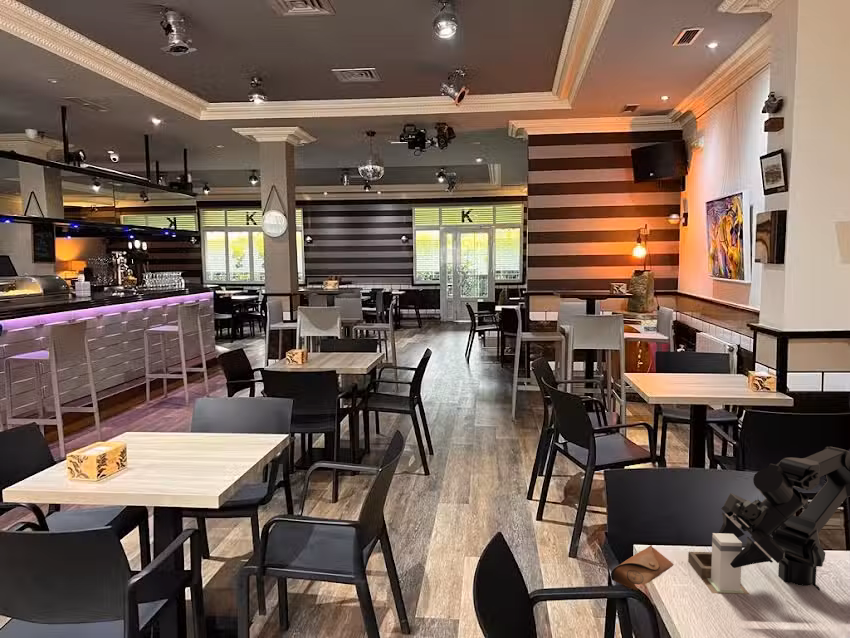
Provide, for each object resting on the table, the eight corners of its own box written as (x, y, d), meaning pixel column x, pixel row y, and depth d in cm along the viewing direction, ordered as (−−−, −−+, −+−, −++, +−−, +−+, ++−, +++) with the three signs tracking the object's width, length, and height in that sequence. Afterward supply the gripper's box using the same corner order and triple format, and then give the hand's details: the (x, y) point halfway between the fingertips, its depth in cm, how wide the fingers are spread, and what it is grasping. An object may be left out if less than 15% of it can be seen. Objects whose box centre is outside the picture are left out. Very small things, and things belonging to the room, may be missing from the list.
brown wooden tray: (721, 566, 143) (722, 552, 143) (749, 598, 129) (750, 583, 129) (688, 565, 144) (688, 551, 143) (712, 597, 130) (712, 582, 129)
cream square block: (731, 579, 135) (733, 533, 134) (740, 590, 130) (742, 543, 129) (710, 579, 135) (712, 533, 134) (719, 590, 130) (720, 542, 129)
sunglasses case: (644, 594, 131) (630, 563, 133) (619, 598, 136) (606, 569, 138) (680, 566, 143) (667, 539, 145) (656, 571, 148) (644, 544, 150)
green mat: (732, 579, 135) (732, 578, 135) (743, 593, 129) (743, 592, 129) (707, 579, 135) (707, 578, 135) (717, 592, 130) (717, 591, 130)
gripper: (731, 469, 139) (682, 513, 141) (771, 500, 121) (714, 550, 123) (764, 502, 139) (715, 545, 141) (809, 538, 121) (752, 587, 123)
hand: (722, 555), depth 132 cm, fingers open, 9 cm apart
